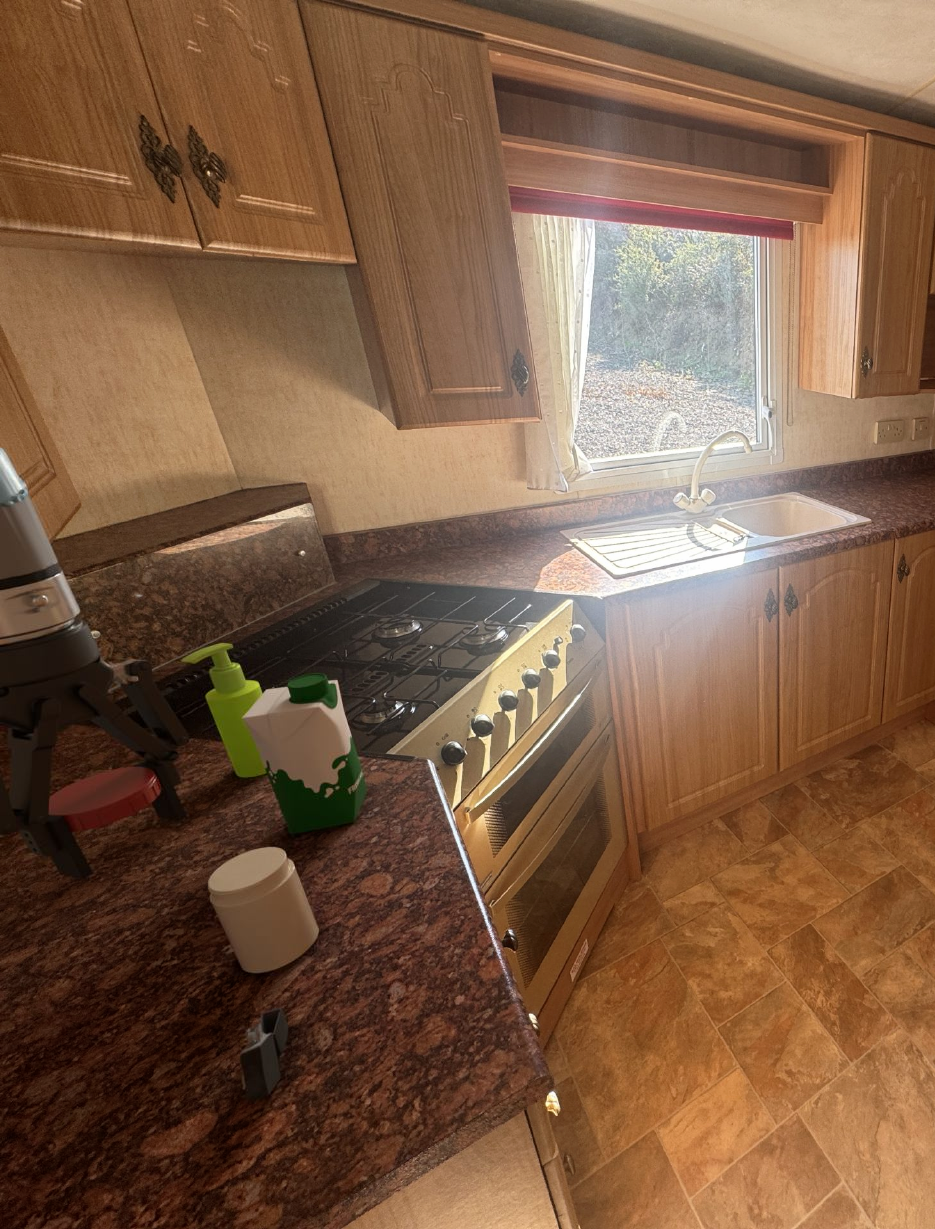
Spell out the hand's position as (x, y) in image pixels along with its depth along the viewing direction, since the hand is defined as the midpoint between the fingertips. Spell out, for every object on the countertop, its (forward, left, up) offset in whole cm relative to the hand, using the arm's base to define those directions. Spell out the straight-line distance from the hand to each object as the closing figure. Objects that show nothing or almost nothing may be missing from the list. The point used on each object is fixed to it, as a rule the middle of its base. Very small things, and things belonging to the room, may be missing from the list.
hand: (127, 843), depth 63 cm
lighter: (+23, +3, -14) cm, 27 cm away
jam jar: (+8, +7, -14) cm, 17 cm away
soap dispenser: (-33, +13, -14) cm, 38 cm away
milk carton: (-13, +17, -14) cm, 26 cm away
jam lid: (0, 0, +6) cm, 6 cm away
